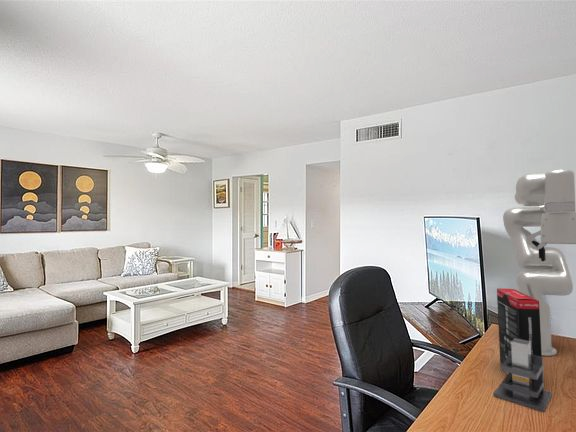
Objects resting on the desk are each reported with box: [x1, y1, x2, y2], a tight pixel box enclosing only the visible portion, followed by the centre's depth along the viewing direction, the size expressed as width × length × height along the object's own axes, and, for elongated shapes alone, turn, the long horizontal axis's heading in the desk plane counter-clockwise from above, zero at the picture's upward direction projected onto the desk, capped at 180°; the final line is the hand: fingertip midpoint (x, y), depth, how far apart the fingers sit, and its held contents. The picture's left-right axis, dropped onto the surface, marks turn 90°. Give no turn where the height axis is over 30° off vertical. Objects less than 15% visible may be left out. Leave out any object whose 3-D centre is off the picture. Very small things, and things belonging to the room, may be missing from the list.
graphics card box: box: [496, 288, 543, 365], centre depth 113 cm, size 17×7×27 cm, turn 168°
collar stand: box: [493, 350, 553, 413], centre depth 98 cm, size 12×12×11 cm
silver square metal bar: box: [511, 338, 532, 397], centre depth 98 cm, size 4×4×15 cm
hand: (562, 261), depth 106 cm, fingers open, 9 cm apart
